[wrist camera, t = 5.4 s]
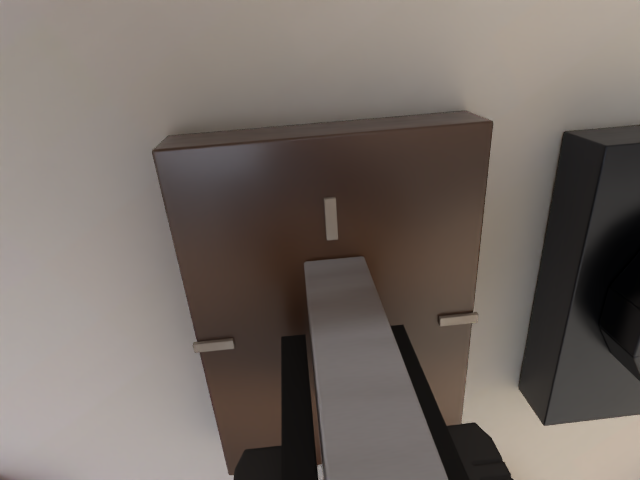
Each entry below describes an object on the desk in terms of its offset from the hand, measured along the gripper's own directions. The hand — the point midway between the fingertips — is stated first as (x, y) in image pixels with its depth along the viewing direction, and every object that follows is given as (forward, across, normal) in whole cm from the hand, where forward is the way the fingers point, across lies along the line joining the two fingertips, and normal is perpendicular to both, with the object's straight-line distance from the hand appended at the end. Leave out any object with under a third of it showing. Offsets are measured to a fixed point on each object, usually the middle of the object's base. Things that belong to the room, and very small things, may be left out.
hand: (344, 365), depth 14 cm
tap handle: (+2, 0, 0) cm, 2 cm away
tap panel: (+4, 0, 0) cm, 4 cm away
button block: (+4, +13, 0) cm, 14 cm away
